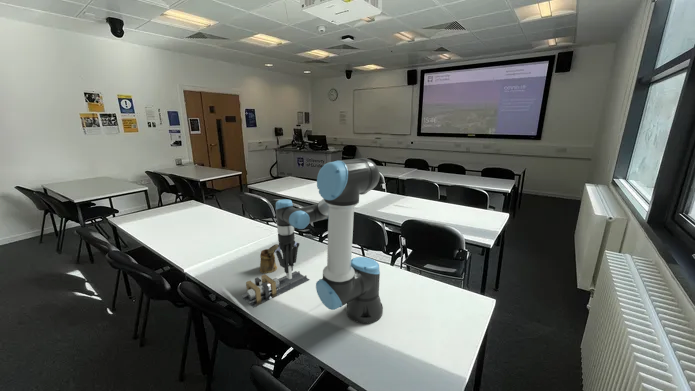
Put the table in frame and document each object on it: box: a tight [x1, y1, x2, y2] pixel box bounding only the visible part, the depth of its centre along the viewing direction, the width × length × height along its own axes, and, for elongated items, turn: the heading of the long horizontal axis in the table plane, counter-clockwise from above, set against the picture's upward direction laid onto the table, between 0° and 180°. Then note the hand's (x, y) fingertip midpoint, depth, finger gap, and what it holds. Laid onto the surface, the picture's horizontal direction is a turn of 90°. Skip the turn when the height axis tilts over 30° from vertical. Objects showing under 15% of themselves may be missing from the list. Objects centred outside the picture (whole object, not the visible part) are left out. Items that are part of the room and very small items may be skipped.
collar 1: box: [245, 280, 262, 304], centre depth 124 cm, size 9×2×6 cm, turn 45°
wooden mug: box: [259, 243, 279, 274], centre depth 146 cm, size 9×14×18 cm, turn 46°
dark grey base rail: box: [240, 270, 311, 308], centre depth 133 cm, size 12×30×2 cm, turn 135°
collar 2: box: [260, 273, 277, 296], centre depth 129 cm, size 9×2×6 cm, turn 45°
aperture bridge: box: [254, 277, 269, 299], centre depth 127 cm, size 9×2×6 cm, turn 45°
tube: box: [246, 277, 280, 300], centre depth 128 cm, size 14×4×4 cm, turn 135°
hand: (289, 277), depth 137 cm, fingers closed
